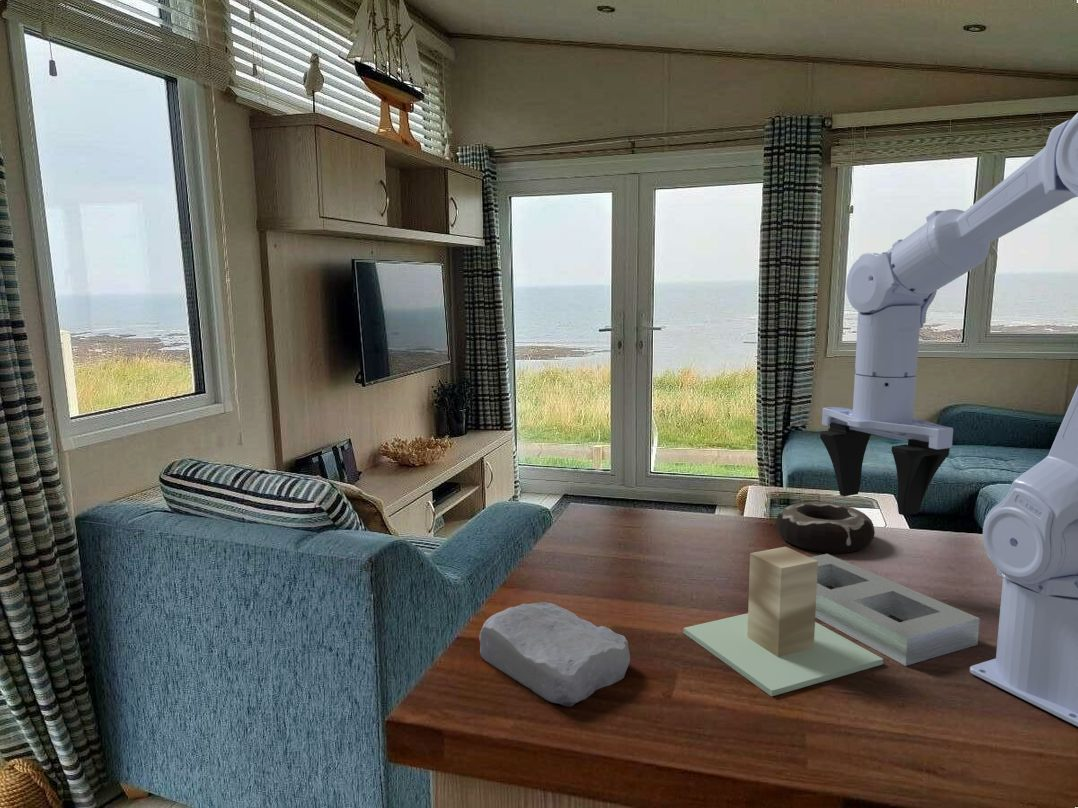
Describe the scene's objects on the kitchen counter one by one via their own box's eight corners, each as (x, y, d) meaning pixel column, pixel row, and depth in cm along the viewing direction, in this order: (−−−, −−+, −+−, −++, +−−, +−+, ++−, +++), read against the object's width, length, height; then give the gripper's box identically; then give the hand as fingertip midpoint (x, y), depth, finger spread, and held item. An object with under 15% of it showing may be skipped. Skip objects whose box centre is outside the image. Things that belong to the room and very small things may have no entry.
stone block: (550, 643, 71) (466, 657, 64) (558, 595, 71) (475, 604, 64) (642, 698, 62) (556, 721, 56) (652, 643, 62) (567, 659, 55)
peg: (813, 647, 64) (817, 560, 63) (777, 657, 63) (781, 568, 62) (782, 629, 68) (785, 546, 67) (747, 637, 67) (750, 553, 65)
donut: (773, 551, 90) (774, 520, 90) (777, 523, 101) (778, 495, 100) (877, 562, 86) (879, 530, 86) (869, 531, 97) (871, 502, 96)
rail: (977, 644, 66) (979, 618, 65) (905, 665, 62) (907, 638, 62) (826, 575, 82) (827, 553, 82) (762, 588, 79) (762, 566, 78)
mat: (882, 664, 63) (883, 658, 62) (771, 696, 58) (771, 690, 58) (783, 609, 73) (784, 604, 73) (683, 632, 69) (683, 627, 69)
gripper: (803, 370, 80) (797, 491, 82) (919, 384, 66) (909, 529, 69) (851, 366, 82) (845, 484, 84) (972, 380, 69) (961, 518, 71)
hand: (877, 503), depth 77 cm, fingers open, 7 cm apart
